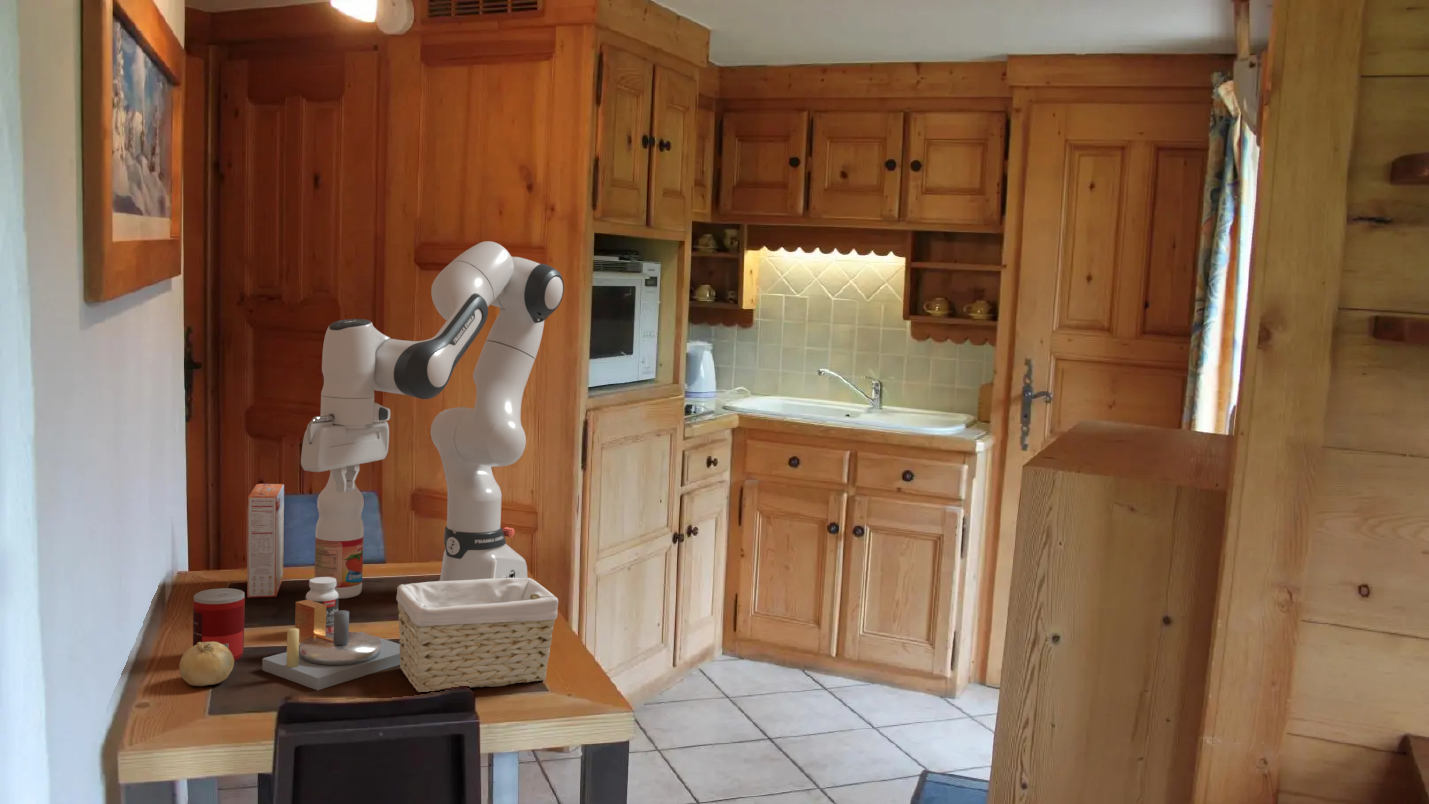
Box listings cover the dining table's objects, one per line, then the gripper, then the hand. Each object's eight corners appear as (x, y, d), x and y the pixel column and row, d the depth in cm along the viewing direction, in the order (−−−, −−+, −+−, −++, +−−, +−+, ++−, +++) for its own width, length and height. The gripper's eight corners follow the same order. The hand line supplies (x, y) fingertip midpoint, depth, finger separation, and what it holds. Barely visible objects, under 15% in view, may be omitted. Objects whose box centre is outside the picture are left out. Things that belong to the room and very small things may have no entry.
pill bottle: (326, 639, 203) (328, 585, 202) (298, 635, 204) (299, 581, 203) (343, 630, 208) (345, 577, 208) (315, 626, 210) (316, 574, 209)
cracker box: (253, 580, 238) (255, 482, 237) (283, 580, 240) (286, 483, 238) (244, 598, 225) (246, 495, 223) (276, 597, 227) (278, 495, 225)
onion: (171, 680, 178) (171, 636, 178) (222, 670, 184) (222, 628, 183) (189, 695, 173) (190, 650, 172) (241, 684, 178) (242, 641, 178)
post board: (360, 642, 202) (361, 593, 201) (414, 660, 194) (416, 608, 194) (262, 670, 185) (263, 616, 184) (317, 690, 178) (319, 634, 177)
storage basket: (526, 654, 201) (530, 573, 200) (558, 684, 187) (562, 597, 186) (390, 668, 190) (393, 582, 189) (413, 701, 176) (416, 608, 175)
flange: (331, 630, 201) (332, 593, 200) (397, 651, 192) (398, 612, 191) (267, 647, 190) (268, 608, 189) (334, 670, 181) (335, 629, 180)
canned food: (253, 655, 192) (255, 592, 191) (217, 668, 185) (218, 602, 184) (219, 647, 195) (220, 585, 194) (182, 660, 188) (182, 595, 187)
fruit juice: (316, 587, 236) (320, 455, 233) (363, 587, 238) (367, 456, 235) (310, 599, 227) (314, 462, 224) (359, 599, 229) (363, 463, 226)
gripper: (324, 419, 185) (322, 502, 186) (396, 409, 204) (393, 485, 206) (292, 415, 187) (290, 497, 188) (366, 406, 206) (363, 481, 207)
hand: (344, 491), depth 197 cm, fingers closed
